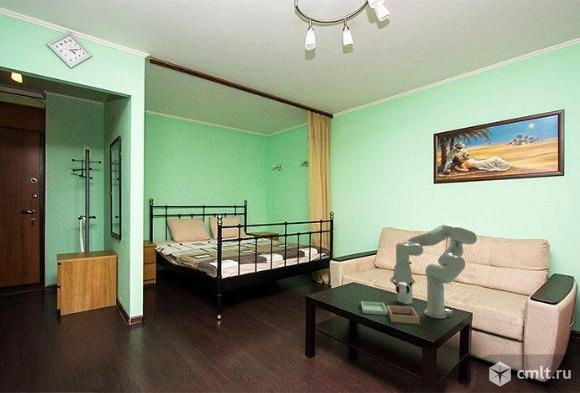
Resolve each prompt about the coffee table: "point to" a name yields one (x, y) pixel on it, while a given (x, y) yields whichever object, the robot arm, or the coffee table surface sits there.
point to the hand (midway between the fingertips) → (402, 292)
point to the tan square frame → (403, 318)
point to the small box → (405, 295)
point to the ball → (402, 289)
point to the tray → (374, 308)
